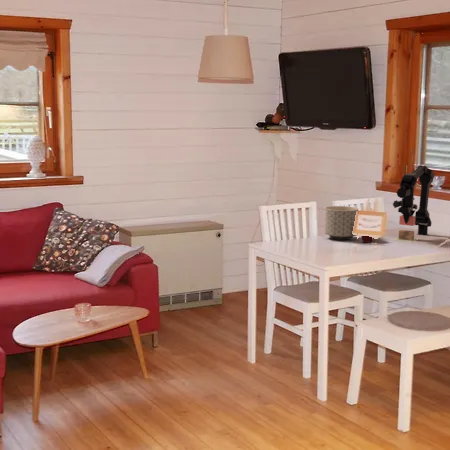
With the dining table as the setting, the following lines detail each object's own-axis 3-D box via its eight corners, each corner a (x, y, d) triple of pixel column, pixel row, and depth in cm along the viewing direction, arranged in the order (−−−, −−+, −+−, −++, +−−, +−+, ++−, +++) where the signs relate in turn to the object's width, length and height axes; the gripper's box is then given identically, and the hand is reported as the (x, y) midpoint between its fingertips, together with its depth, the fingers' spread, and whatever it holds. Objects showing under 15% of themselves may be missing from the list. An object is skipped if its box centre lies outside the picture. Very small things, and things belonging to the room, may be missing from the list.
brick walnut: (398, 239, 440) (398, 230, 439) (400, 238, 443) (400, 229, 442) (411, 240, 436) (412, 232, 435) (413, 239, 439) (414, 231, 438)
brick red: (399, 224, 439) (399, 216, 438) (401, 223, 442) (402, 215, 441) (412, 225, 434) (413, 217, 433) (414, 224, 437) (415, 216, 437)
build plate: (399, 238, 448) (399, 236, 447) (419, 240, 442) (419, 238, 442) (392, 241, 437) (393, 239, 437) (413, 243, 432) (413, 241, 431)
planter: (331, 242, 433) (332, 211, 430) (319, 236, 452) (320, 206, 449) (362, 241, 438) (363, 210, 435) (349, 235, 456) (350, 205, 453)
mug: (371, 240, 440) (372, 223, 439) (380, 243, 433) (381, 225, 432) (357, 242, 435) (358, 224, 434) (366, 244, 428) (366, 227, 427)
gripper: (399, 193, 447) (398, 219, 450) (389, 197, 431) (388, 223, 434) (418, 195, 442) (416, 221, 444) (409, 198, 426) (407, 225, 428)
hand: (407, 222), depth 438 cm, fingers closed on brick red, 4 cm apart
